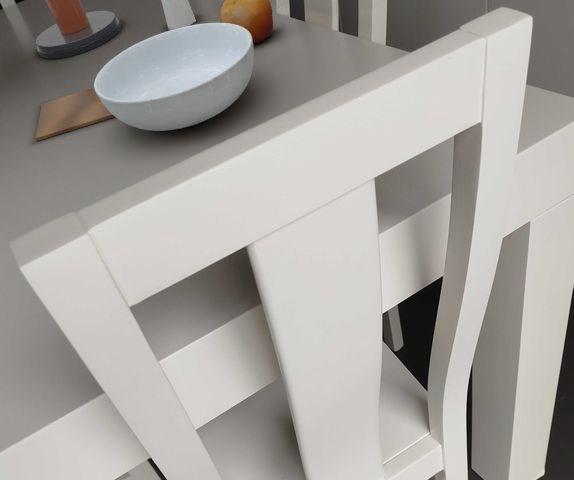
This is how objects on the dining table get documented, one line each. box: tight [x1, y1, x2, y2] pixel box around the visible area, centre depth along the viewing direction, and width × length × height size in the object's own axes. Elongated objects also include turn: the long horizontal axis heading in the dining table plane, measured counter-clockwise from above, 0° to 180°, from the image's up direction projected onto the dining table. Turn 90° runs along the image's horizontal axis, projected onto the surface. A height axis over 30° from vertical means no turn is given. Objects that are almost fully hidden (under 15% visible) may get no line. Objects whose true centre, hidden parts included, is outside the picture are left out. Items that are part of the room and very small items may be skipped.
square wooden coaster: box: [34, 87, 116, 142], centre depth 87 cm, size 12×12×1 cm
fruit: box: [219, 0, 274, 44], centre depth 90 cm, size 8×8×8 cm
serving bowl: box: [93, 22, 255, 132], centre depth 77 cm, size 21×21×7 cm
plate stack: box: [35, 10, 122, 60], centre depth 109 cm, size 16×16×2 cm
